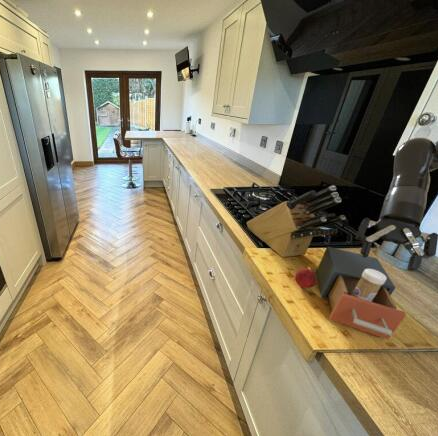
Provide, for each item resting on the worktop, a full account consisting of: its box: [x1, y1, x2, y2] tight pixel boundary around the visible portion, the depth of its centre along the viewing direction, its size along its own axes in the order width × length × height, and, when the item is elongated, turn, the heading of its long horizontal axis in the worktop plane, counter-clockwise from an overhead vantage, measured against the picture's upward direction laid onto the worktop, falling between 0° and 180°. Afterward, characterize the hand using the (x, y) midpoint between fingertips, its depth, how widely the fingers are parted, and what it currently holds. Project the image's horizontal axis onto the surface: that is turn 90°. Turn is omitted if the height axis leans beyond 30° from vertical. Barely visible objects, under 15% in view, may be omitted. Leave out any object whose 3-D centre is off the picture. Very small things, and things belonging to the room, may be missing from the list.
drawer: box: [328, 274, 407, 340], centre depth 65 cm, size 20×13×9 cm, turn 152°
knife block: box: [246, 185, 347, 258], centre depth 95 cm, size 11×35×31 cm, turn 12°
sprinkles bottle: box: [350, 269, 387, 302], centre depth 65 cm, size 5×5×13 cm
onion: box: [294, 266, 317, 289], centre depth 77 cm, size 6×6×8 cm
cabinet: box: [315, 246, 396, 301], centre depth 76 cm, size 16×14×11 cm
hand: (387, 263), depth 58 cm, fingers open, 8 cm apart
